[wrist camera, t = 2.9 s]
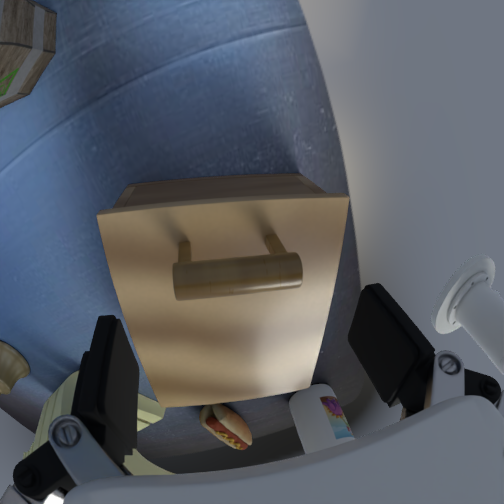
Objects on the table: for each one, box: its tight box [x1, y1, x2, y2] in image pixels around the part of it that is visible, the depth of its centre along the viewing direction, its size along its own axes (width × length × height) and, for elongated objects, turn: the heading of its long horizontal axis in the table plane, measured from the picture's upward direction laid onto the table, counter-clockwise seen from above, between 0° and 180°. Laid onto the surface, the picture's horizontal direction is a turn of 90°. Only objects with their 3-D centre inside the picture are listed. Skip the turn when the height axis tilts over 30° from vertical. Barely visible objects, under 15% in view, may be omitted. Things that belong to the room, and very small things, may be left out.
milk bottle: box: [289, 384, 354, 454], centre depth 35 cm, size 8×8×20 cm
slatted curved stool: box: [23, 371, 174, 475], centre depth 28 cm, size 30×16×18 cm, turn 130°
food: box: [199, 403, 252, 450], centre depth 40 cm, size 14×6×5 cm, turn 19°
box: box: [112, 173, 326, 209], centre depth 25 cm, size 19×15×8 cm
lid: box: [96, 193, 349, 407], centre depth 19 cm, size 20×15×5 cm
